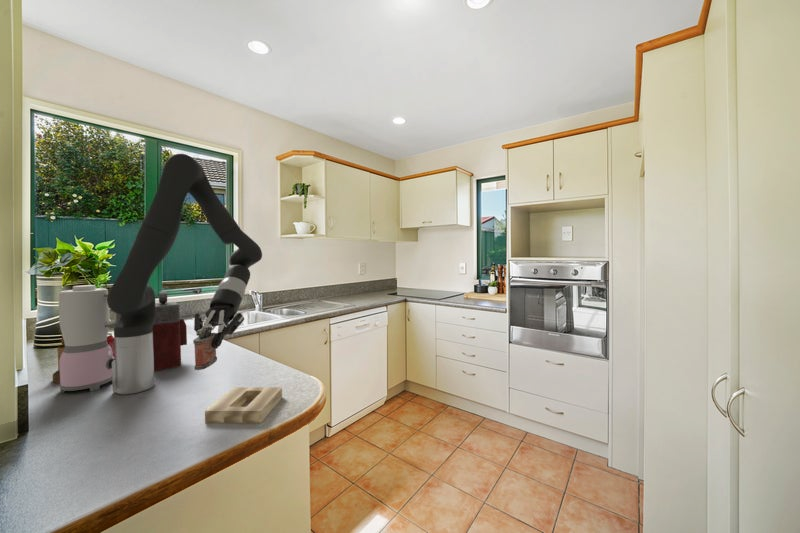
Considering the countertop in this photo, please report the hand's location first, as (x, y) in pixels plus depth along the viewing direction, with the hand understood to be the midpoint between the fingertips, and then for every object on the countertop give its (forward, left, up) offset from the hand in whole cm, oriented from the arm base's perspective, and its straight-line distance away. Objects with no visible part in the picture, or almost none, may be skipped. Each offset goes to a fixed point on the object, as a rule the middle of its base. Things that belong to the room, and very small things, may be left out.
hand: (206, 347), depth 86 cm
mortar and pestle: (-61, +22, -17) cm, 67 cm away
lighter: (0, -1, -5) cm, 5 cm away
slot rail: (+10, +1, -17) cm, 20 cm away
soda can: (-59, +33, -17) cm, 70 cm away
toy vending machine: (-36, +35, -17) cm, 53 cm away
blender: (-46, +16, -17) cm, 52 cm away
